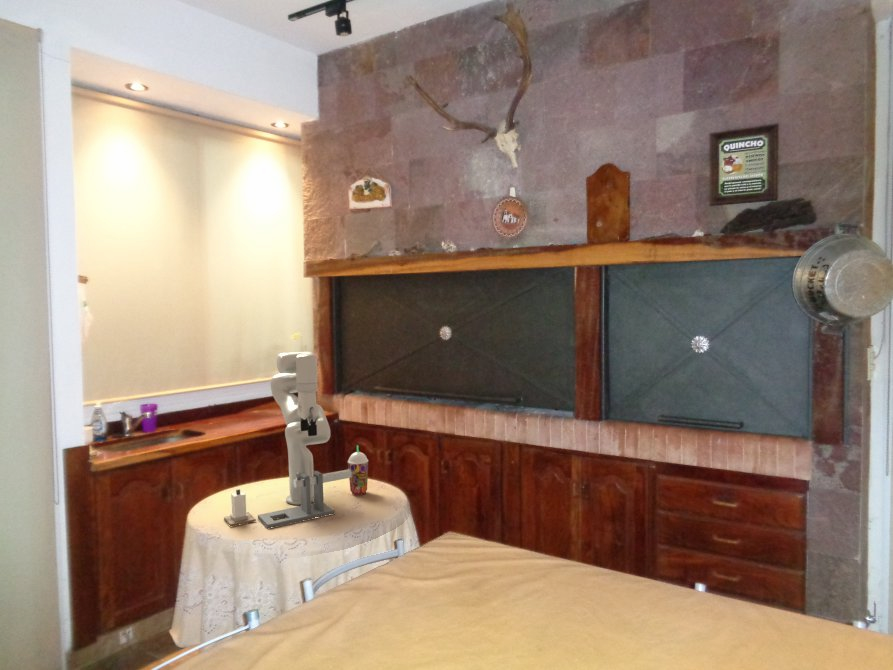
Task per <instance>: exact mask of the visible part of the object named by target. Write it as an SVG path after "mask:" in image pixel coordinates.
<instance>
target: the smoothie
mask: <svg viewBox="0 0 893 670" xmlns="http://www.w3.org/2000/svg"><path fill="white" fill-rule="evenodd" d="M347 467H348V468H347V470H348V469H349V470H351V476H352V478H348V479H349V487H350V488H349V489H350V490H349V491H350V492H351V494H352V495H353V494H354V495H353V496H357V495H358V496H362V495H361V494H364V495H365V494H366V493H367V491H368V475H369V474H368V473H369V459H368V458H367V455H366V454H365V453H363V452H361V451H360V450H359V445H357V444H356V451H355V452H353V453H351V455H350V456H349V458H348V460H347Z"/></svg>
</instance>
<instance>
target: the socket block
mask: <svg viewBox="0 0 893 670" xmlns="http://www.w3.org/2000/svg"><path fill="white" fill-rule="evenodd" d="M323 474H324V473H321V472H320V471H318V470H313V476H314V475H316V476H318V484H315V485H314V502H312V503H311V498H310V476H308V475H307V474H305V473H301V478H304V479H305V486H304V487H301V505H300V506H299V505H298V506H295V507H291V508H290V507H289V508H285V509H280V510H275V511H270V512H266V513H260V514H257V519H259V520H260V523H261V524H262V525H263V526H265V528H266V529H268V528H270V529H272V528H271V527H274V528H277V527H276V526H279V527H283V526H287V525H286V524H288V525H291V524H290V523H292V524H296V523H295V522H297V523H300V522H299V521H302V522H304V521H303V520H306V521H309V520H308V519H311V520H313V519H312V518H315V517H320V518H322V517H321V516H324V517H326V516H325V515H329V514H333V515H335V509H333V508H332V507H330V506H329V505H327V504H326V503H324V483H323ZM329 516H330V515H329ZM282 517H284V518H282ZM285 517H286V518H285ZM277 518H279V519H277ZM273 519H275V520H273ZM315 519H316V518H315ZM259 520H258V521H259ZM282 525H283V526H282Z"/></svg>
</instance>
